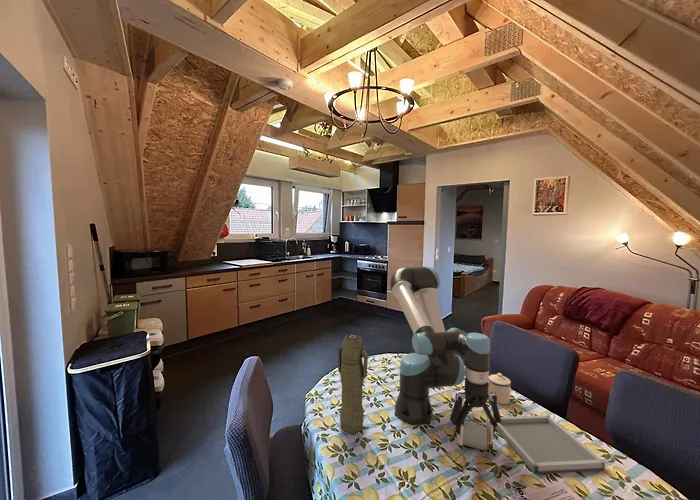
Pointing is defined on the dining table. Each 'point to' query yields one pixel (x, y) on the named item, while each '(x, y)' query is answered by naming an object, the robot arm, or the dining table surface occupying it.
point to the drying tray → (547, 445)
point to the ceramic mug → (475, 435)
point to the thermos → (352, 383)
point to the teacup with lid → (500, 388)
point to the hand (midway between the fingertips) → (474, 441)
